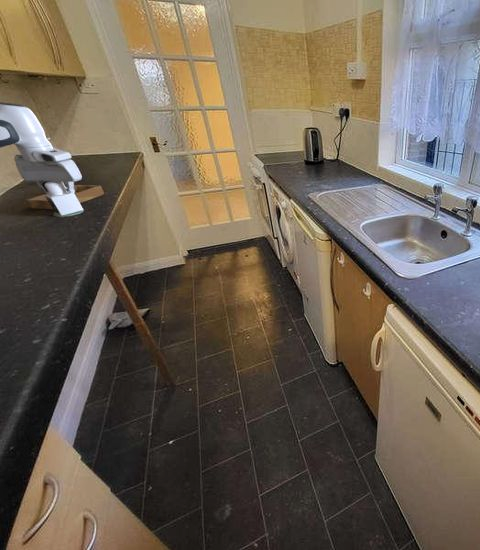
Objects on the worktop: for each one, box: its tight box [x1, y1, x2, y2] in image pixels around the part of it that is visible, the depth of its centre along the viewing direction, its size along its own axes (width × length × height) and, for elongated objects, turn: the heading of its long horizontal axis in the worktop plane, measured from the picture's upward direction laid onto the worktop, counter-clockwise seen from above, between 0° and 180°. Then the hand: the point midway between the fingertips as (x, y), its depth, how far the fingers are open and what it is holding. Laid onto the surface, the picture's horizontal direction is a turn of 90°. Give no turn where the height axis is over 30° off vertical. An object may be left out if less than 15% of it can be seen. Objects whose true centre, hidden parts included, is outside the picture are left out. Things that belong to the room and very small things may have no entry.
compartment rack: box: [25, 184, 105, 210], centre depth 128 cm, size 12×23×4 cm, turn 178°
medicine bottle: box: [42, 182, 84, 216], centre depth 114 cm, size 7×7×12 cm
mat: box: [52, 209, 84, 218], centre depth 117 cm, size 9×9×1 cm
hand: (60, 192), depth 113 cm, fingers closed on medicine bottle, 7 cm apart
